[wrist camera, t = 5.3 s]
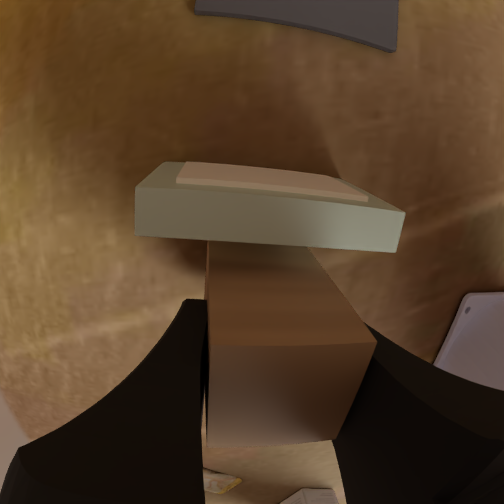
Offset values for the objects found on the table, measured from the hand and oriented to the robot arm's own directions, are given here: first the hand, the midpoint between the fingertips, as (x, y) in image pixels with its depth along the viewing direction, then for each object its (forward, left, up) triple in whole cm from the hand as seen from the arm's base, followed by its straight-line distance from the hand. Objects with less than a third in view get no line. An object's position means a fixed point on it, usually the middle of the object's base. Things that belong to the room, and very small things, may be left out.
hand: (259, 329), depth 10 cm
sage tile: (+3, 0, -4) cm, 6 cm away
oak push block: (0, 0, -3) cm, 4 cm away
